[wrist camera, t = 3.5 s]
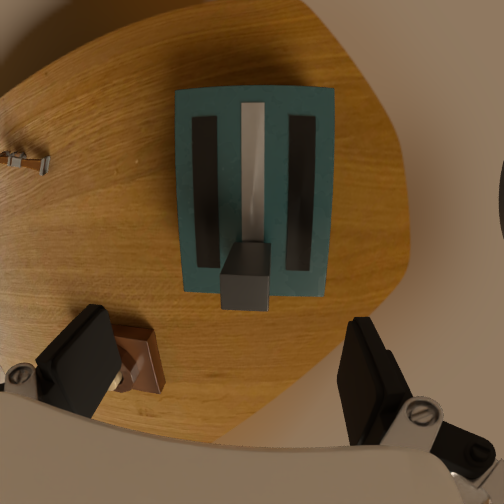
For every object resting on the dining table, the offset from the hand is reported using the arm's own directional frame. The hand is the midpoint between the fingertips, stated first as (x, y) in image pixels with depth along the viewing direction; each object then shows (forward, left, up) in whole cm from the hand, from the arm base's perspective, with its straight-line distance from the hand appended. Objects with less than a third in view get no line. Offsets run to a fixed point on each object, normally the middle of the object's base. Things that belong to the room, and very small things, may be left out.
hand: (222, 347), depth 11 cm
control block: (+16, +15, -16) cm, 27 cm away
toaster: (0, -4, -16) cm, 16 cm away
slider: (0, 0, -9) cm, 9 cm away
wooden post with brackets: (+25, -8, -16) cm, 30 cm away
